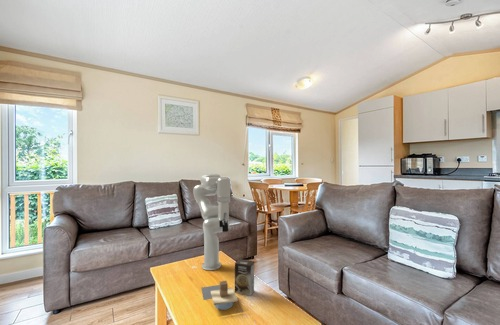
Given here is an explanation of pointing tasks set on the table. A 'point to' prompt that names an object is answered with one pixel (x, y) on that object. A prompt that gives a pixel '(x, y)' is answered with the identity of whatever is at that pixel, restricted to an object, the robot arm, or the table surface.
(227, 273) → the table surface
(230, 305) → the bowl
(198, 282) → the table surface
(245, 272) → the coffee box
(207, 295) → the mat
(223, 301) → the lid
